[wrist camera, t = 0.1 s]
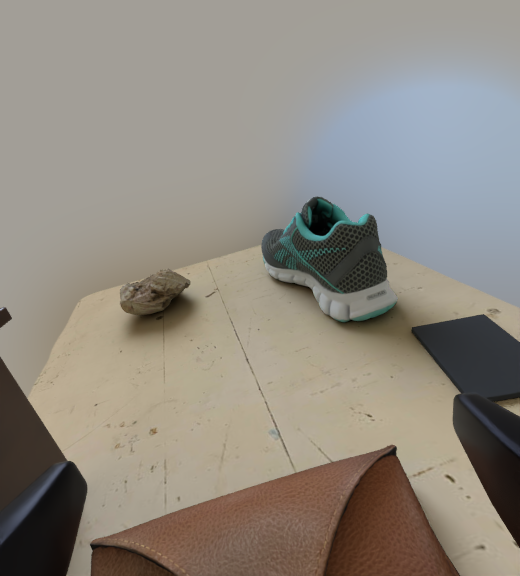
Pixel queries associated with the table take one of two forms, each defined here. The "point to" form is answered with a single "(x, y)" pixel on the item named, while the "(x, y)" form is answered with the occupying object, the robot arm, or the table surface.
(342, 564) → the sunglasses case
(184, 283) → the seashell
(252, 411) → the table surface
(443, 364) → the shoe mat
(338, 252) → the running shoe
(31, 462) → the metallic box
